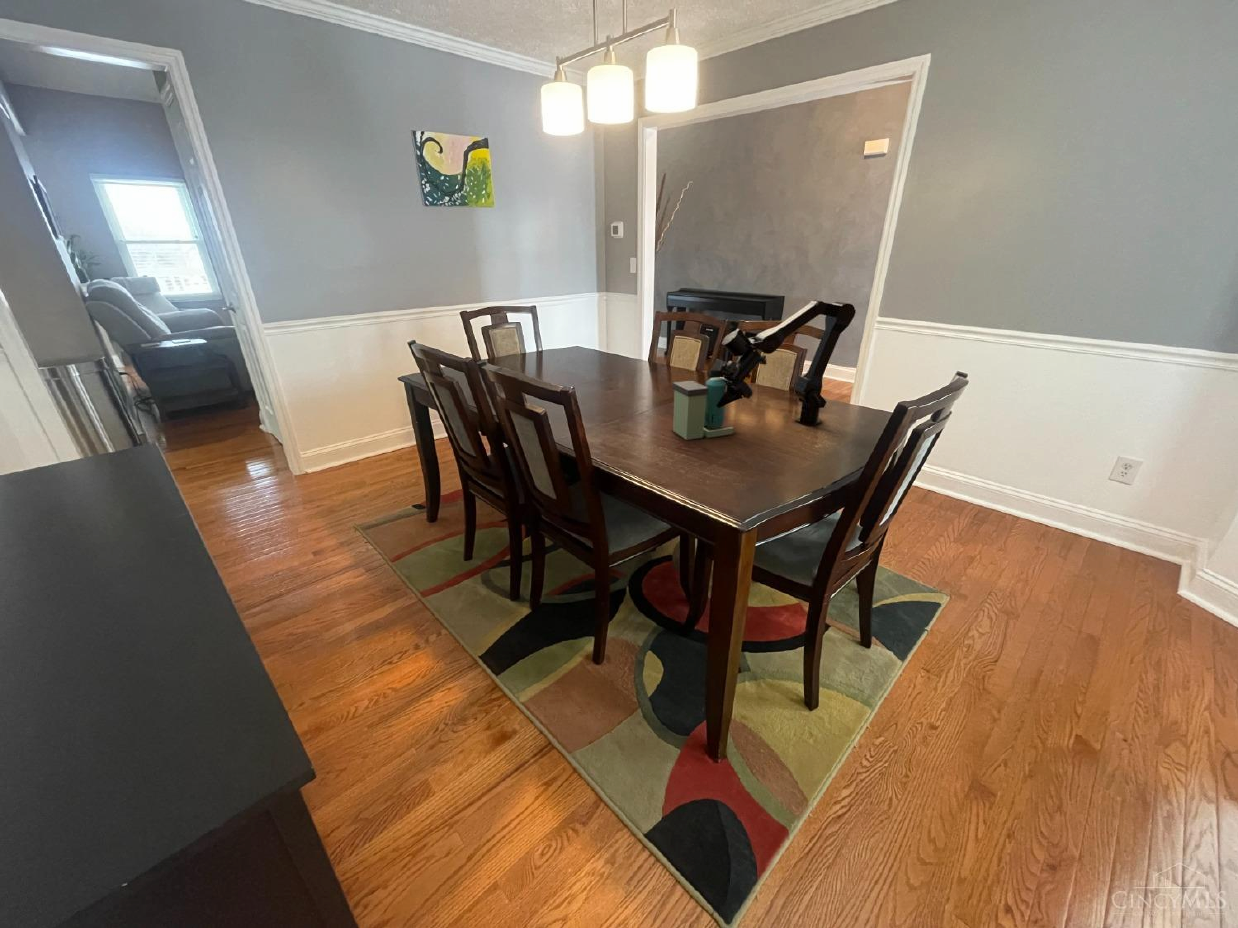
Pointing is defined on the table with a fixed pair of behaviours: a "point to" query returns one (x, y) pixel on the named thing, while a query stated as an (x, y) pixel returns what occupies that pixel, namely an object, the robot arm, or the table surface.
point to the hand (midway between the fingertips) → (711, 404)
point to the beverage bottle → (715, 400)
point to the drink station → (692, 411)
